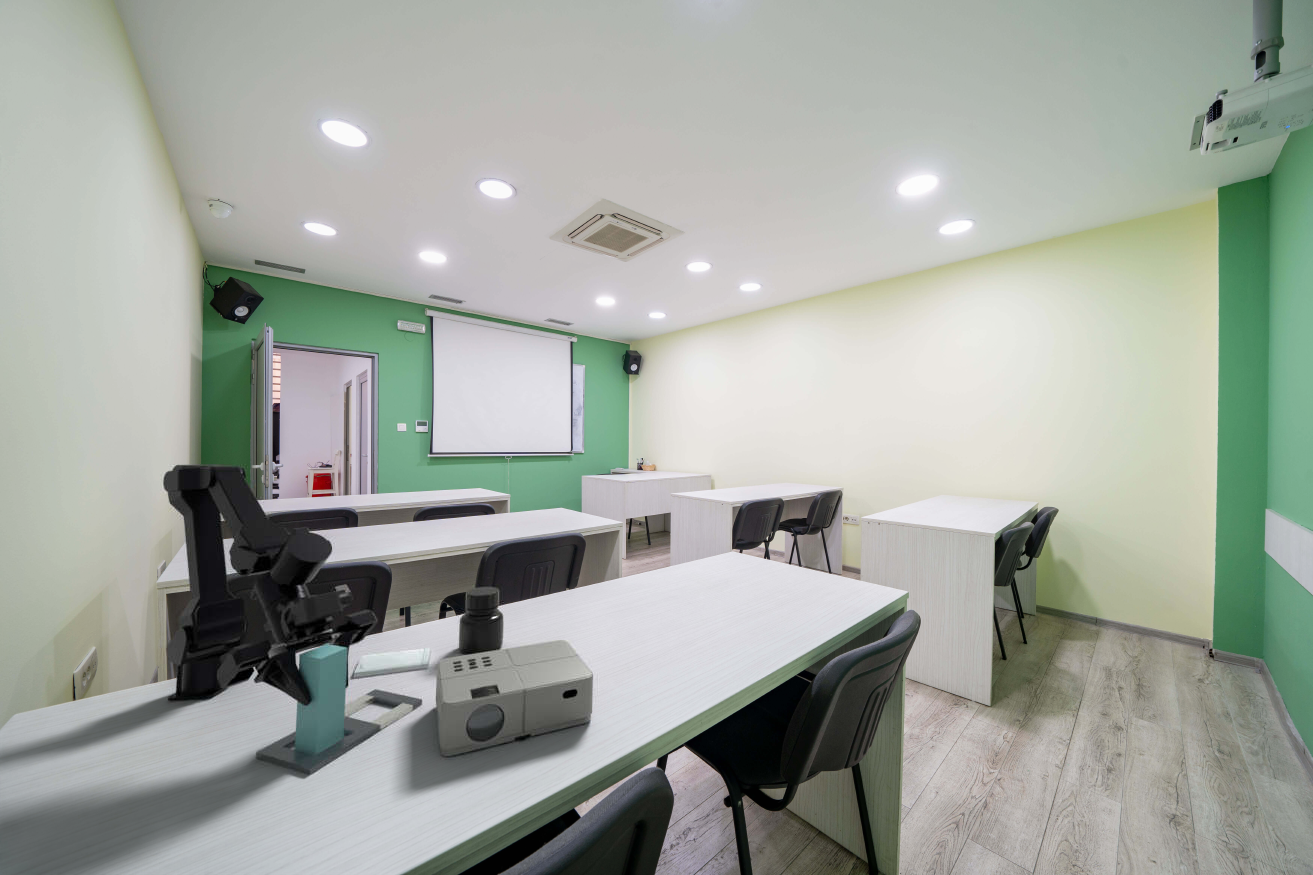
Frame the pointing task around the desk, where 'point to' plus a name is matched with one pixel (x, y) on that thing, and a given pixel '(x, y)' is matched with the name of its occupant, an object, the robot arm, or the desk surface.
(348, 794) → the desk surface
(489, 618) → the ink bottle
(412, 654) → the hard drive
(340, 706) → the plug
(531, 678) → the projector
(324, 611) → the robot arm
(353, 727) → the panel
